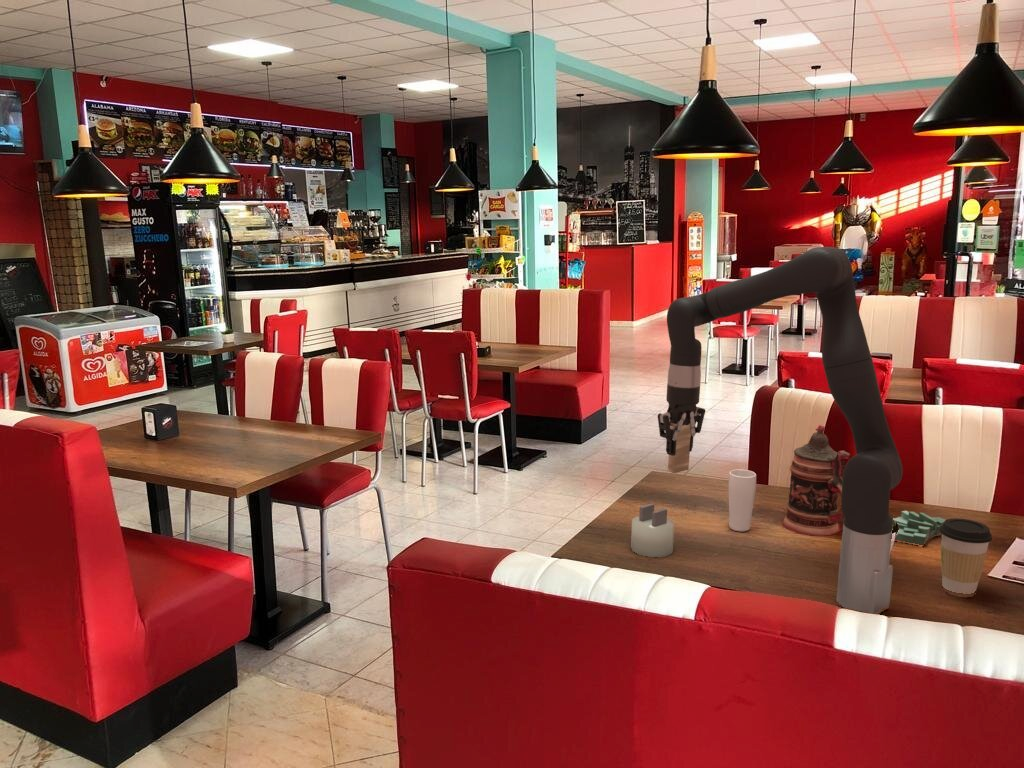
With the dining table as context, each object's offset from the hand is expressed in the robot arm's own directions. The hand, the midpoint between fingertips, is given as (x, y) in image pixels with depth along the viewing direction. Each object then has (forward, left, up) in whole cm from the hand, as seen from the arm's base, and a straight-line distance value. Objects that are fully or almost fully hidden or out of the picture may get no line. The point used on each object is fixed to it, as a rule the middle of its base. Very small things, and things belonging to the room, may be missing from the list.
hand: (679, 452), depth 192 cm
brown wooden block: (0, 0, -4) cm, 4 cm away
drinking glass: (-1, -23, -25) cm, 34 cm away
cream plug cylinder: (+3, +5, -24) cm, 25 cm away
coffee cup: (-52, -32, -25) cm, 66 cm away
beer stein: (-12, -39, -25) cm, 48 cm away
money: (-28, -58, -25) cm, 69 cm away
